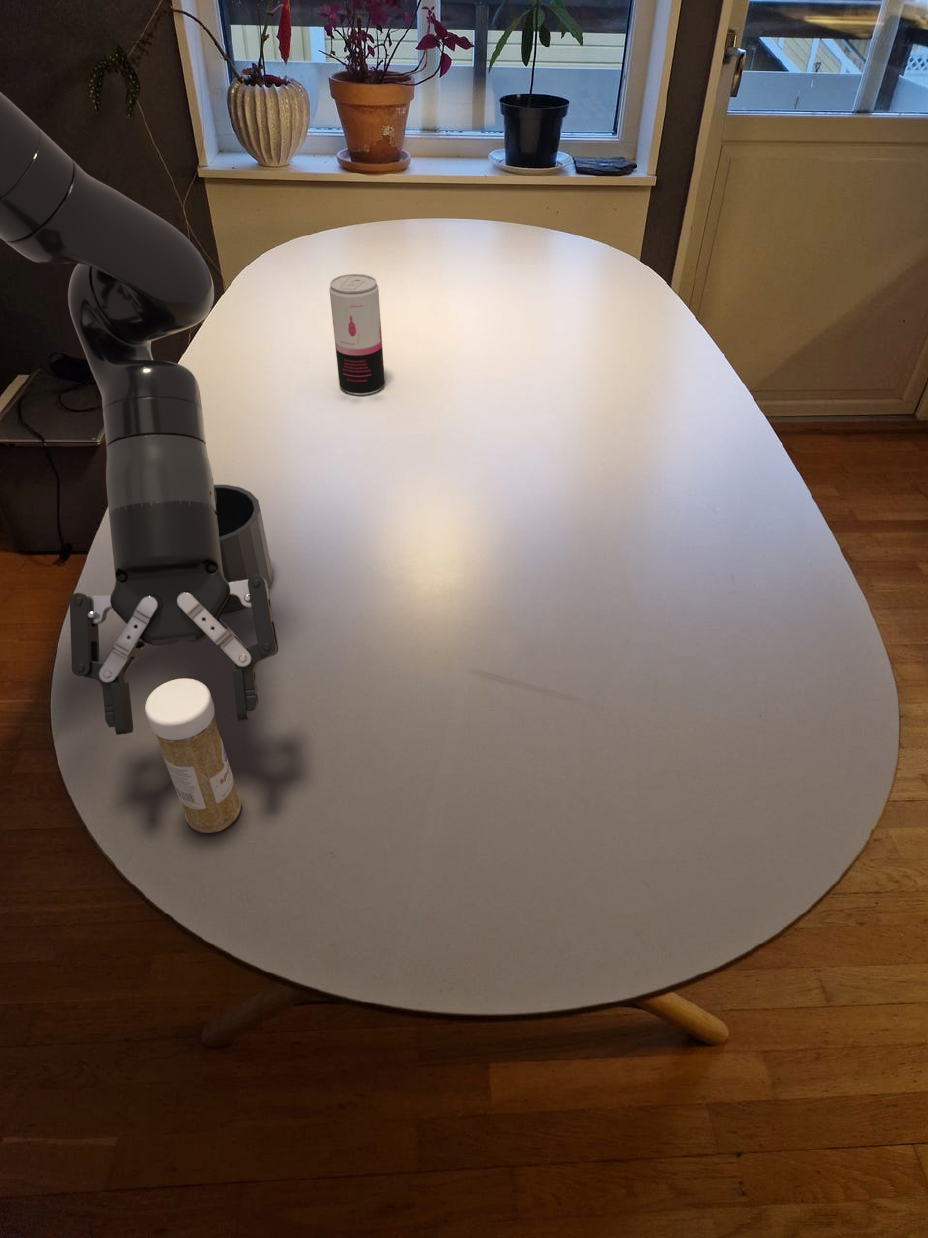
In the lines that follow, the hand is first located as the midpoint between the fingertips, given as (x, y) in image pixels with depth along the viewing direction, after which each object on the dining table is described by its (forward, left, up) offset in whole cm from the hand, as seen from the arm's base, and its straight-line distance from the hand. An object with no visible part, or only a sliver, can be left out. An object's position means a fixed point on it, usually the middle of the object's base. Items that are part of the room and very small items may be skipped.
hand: (185, 726), depth 63 cm
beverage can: (+28, +69, -11) cm, 75 cm away
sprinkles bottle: (0, 0, -11) cm, 11 cm away
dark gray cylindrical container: (+4, +30, -11) cm, 32 cm away
